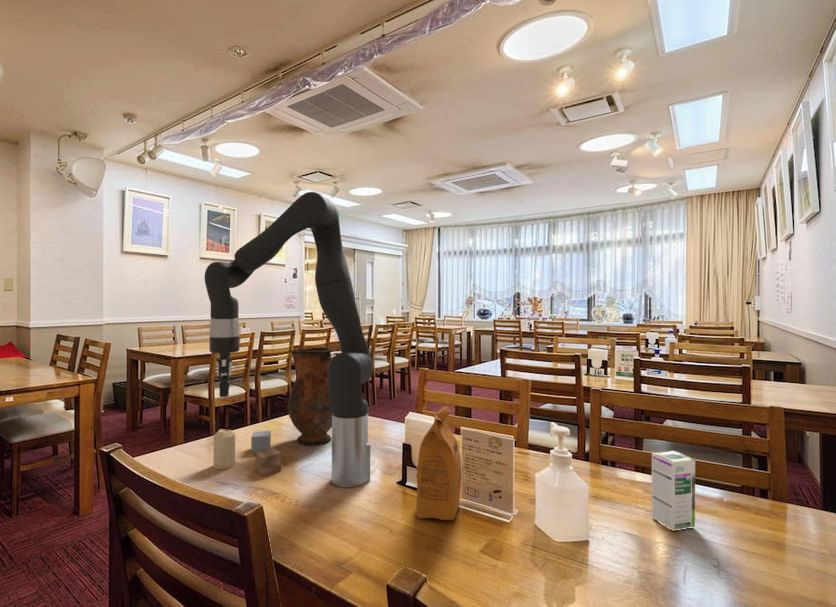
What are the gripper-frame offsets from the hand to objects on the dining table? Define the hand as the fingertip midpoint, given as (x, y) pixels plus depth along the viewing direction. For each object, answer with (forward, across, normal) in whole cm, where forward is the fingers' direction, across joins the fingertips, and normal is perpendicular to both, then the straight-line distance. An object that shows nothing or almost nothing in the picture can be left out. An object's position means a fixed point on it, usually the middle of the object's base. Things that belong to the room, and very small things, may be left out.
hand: (224, 393), depth 117 cm
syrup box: (+20, -68, -88) cm, 113 cm away
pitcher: (+20, +10, -28) cm, 36 cm away
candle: (+20, 0, 0) cm, 20 cm away
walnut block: (+20, -8, -11) cm, 24 cm away
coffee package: (+20, -44, -45) cm, 66 cm away
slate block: (+20, +9, -10) cm, 24 cm away
